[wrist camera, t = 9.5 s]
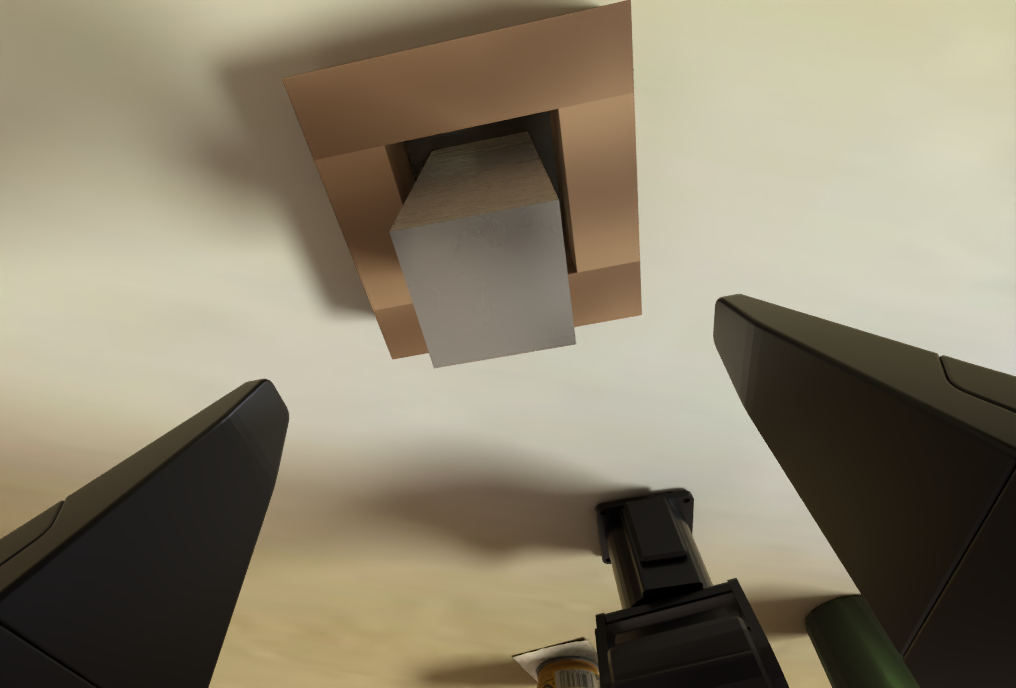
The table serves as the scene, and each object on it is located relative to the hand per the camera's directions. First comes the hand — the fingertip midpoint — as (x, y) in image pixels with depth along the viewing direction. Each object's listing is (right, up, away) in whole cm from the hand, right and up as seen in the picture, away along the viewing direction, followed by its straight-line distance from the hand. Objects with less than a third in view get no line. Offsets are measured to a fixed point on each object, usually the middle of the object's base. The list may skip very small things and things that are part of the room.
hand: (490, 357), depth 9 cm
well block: (-1, +7, +11) cm, 13 cm away
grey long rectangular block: (0, +7, +11) cm, 13 cm away
